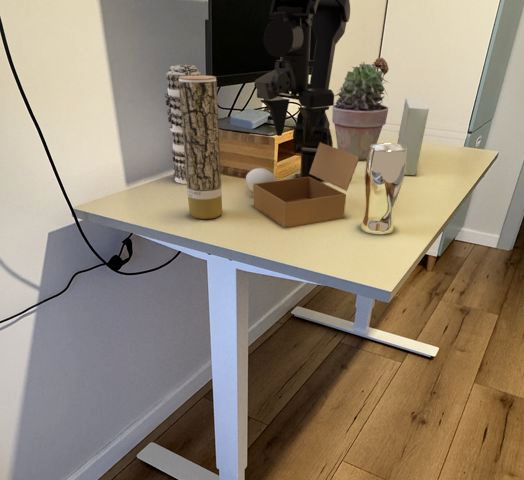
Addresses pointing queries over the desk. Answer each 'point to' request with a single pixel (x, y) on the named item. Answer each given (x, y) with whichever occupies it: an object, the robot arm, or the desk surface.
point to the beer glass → (383, 185)
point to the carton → (298, 201)
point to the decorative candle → (177, 116)
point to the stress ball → (259, 177)
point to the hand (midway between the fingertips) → (292, 139)
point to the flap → (334, 166)
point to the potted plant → (360, 109)
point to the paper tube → (201, 144)
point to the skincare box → (413, 131)
